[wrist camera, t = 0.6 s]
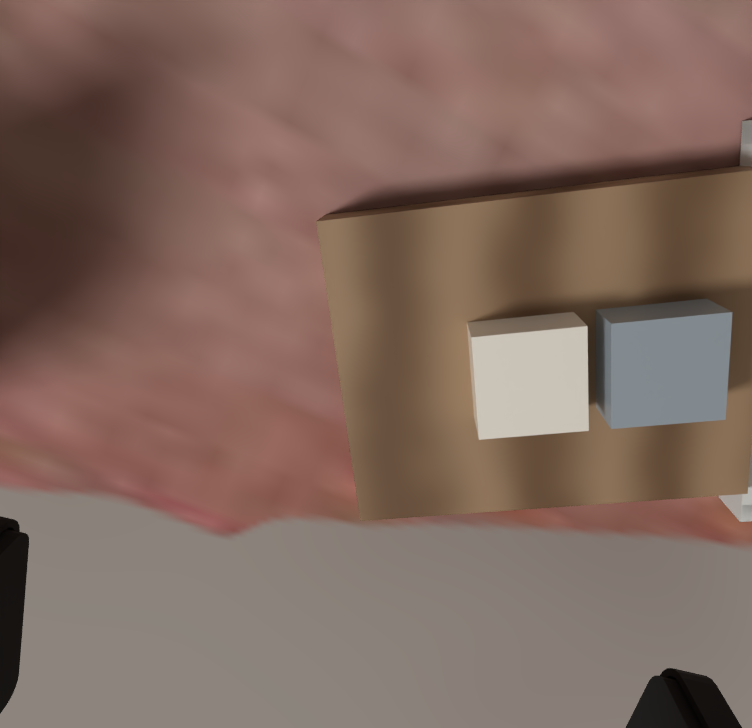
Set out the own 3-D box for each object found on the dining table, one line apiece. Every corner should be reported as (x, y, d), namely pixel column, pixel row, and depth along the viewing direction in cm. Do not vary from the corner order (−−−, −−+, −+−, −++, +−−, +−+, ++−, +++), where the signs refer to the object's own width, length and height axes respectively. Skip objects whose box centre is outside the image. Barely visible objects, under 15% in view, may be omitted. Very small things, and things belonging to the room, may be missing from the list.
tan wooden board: (739, 165, 30) (773, 167, 27) (720, 465, 35) (747, 493, 32) (324, 214, 32) (316, 221, 29) (364, 492, 37) (360, 520, 34)
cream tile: (573, 311, 29) (587, 326, 27) (575, 409, 31) (588, 430, 29) (467, 322, 30) (471, 337, 28) (474, 417, 31) (478, 439, 29)
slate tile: (706, 298, 29) (732, 312, 26) (701, 398, 30) (725, 419, 28) (595, 309, 29) (611, 323, 27) (596, 407, 31) (611, 429, 29)
